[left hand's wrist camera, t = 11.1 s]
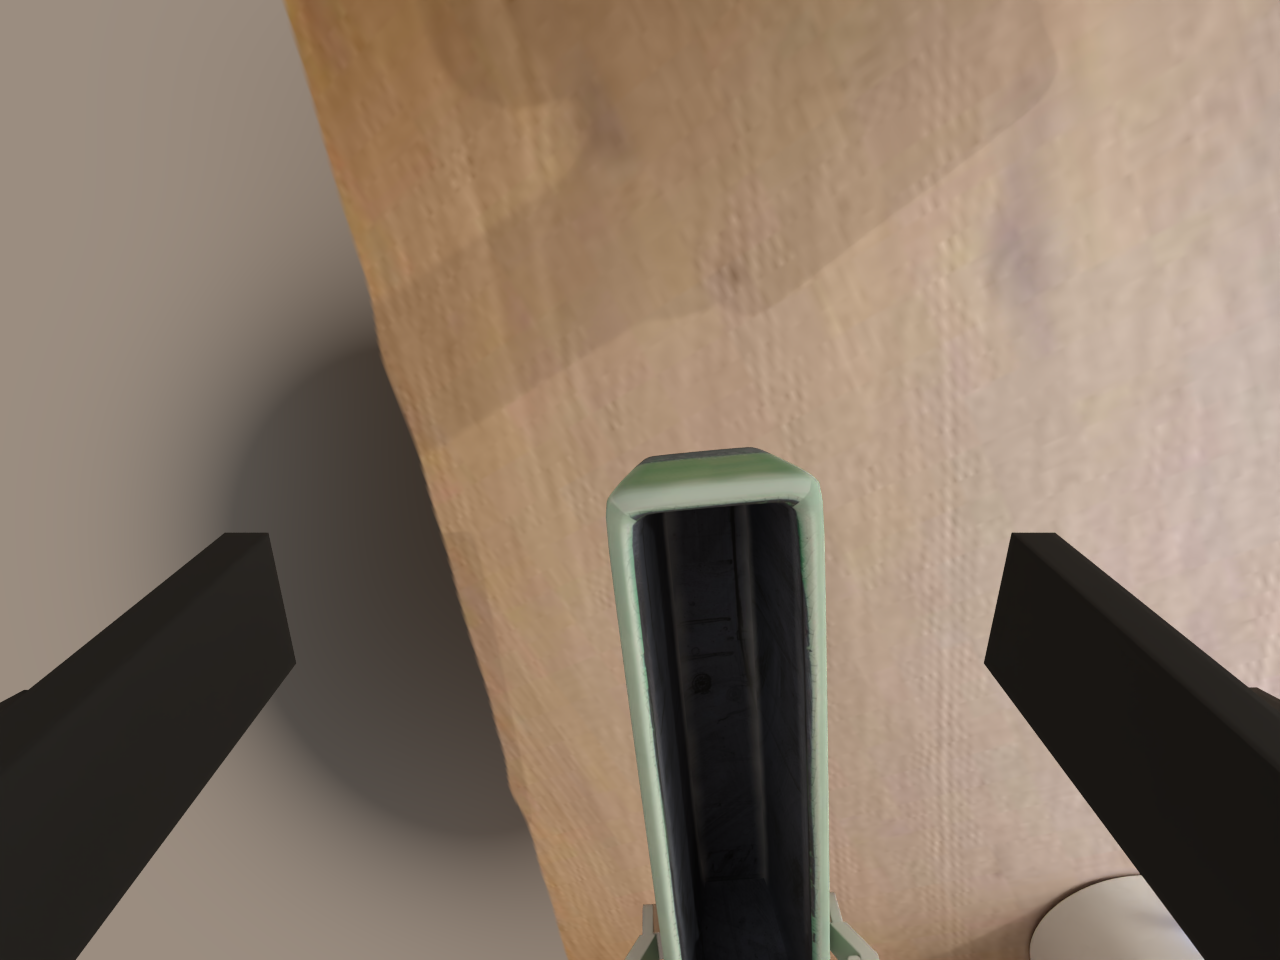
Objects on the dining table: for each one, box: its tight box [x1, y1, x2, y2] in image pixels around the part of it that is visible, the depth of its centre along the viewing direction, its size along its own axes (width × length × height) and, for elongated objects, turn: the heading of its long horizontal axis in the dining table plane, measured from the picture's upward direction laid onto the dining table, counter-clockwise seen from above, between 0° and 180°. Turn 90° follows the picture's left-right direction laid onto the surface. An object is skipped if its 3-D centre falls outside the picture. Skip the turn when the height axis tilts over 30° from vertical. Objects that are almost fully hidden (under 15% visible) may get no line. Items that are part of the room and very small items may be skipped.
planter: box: [606, 447, 830, 960], centre depth 31 cm, size 28×7×7 cm, turn 6°
